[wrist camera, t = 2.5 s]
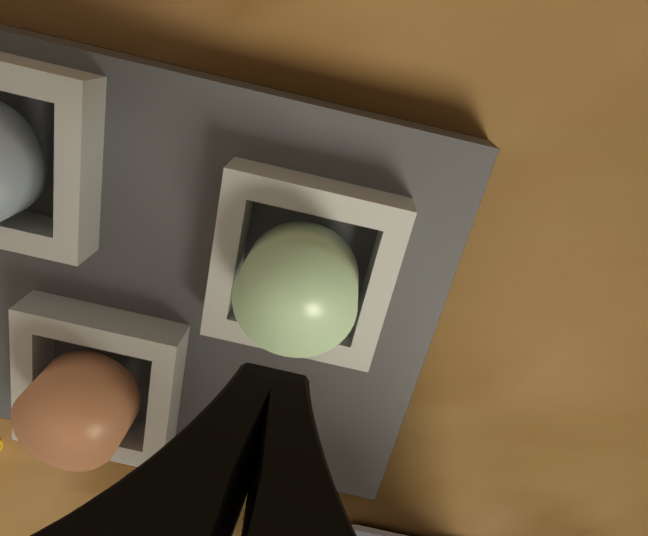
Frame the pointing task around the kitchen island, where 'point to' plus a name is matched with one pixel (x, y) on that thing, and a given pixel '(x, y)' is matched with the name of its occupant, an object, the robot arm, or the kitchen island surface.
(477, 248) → the kitchen island surface
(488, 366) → the kitchen island surface
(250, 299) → the sage button
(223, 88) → the button panel
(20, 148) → the slate button
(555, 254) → the kitchen island surface
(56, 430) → the terracotta button
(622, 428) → the kitchen island surface
